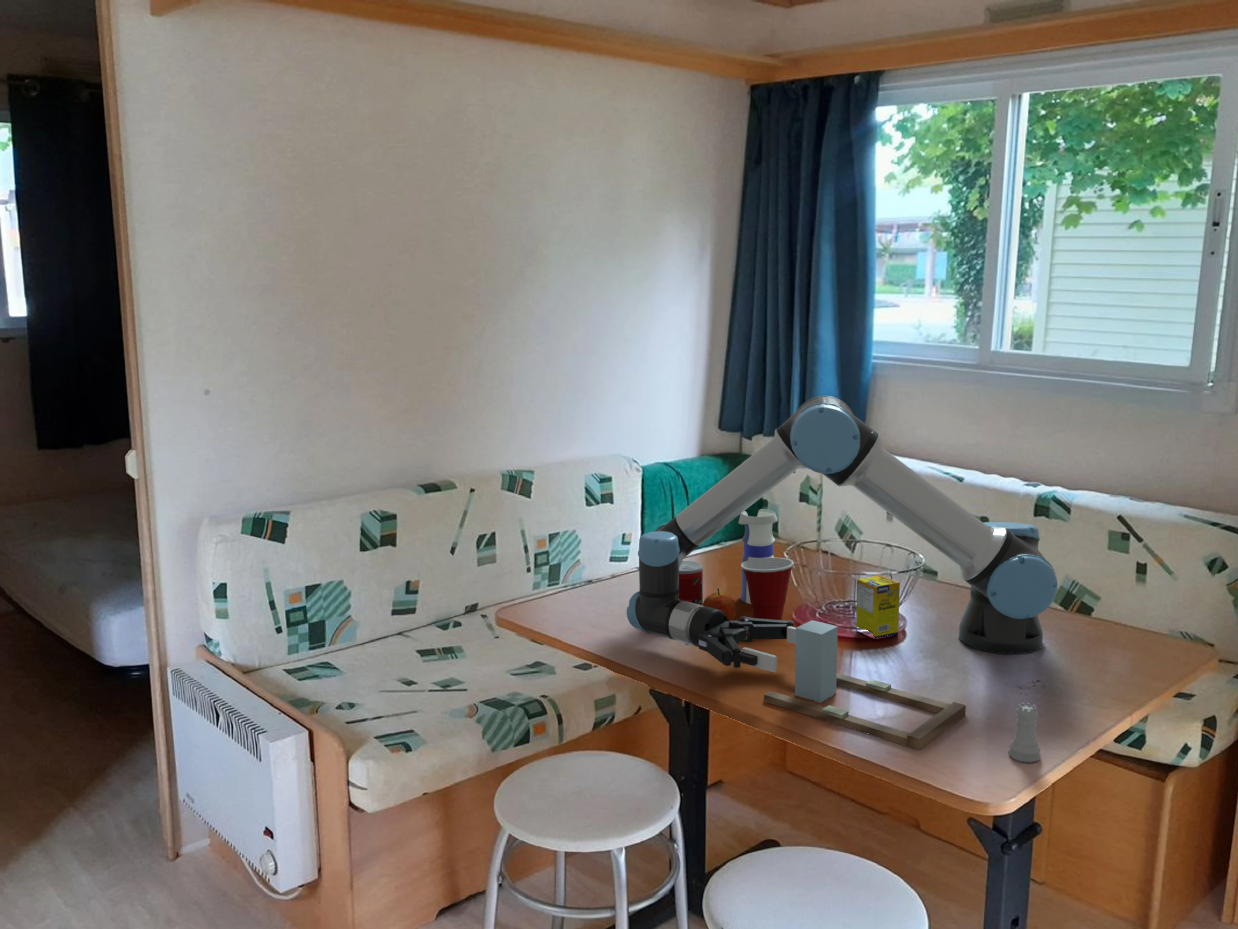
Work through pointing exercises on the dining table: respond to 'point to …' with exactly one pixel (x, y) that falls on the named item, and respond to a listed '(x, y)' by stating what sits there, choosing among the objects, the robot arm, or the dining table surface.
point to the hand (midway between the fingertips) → (798, 653)
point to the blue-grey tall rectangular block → (816, 661)
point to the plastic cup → (767, 585)
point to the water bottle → (756, 541)
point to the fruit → (721, 604)
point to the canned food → (691, 582)
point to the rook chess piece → (1025, 735)
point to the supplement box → (878, 605)
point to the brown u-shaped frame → (915, 739)
